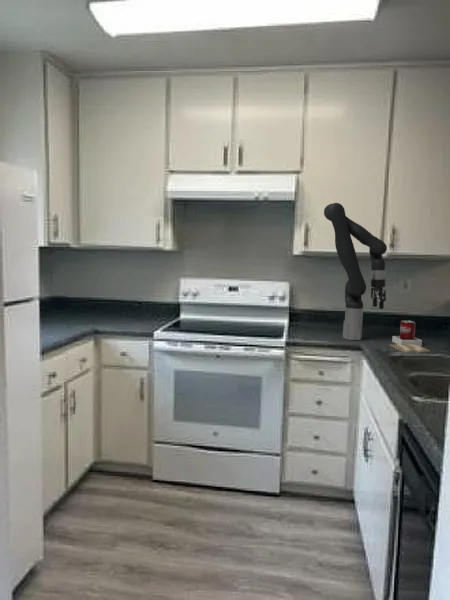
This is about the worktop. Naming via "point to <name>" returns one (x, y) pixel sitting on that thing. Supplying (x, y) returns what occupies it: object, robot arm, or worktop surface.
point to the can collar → (406, 341)
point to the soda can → (407, 330)
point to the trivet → (409, 348)
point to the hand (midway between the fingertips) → (378, 307)
